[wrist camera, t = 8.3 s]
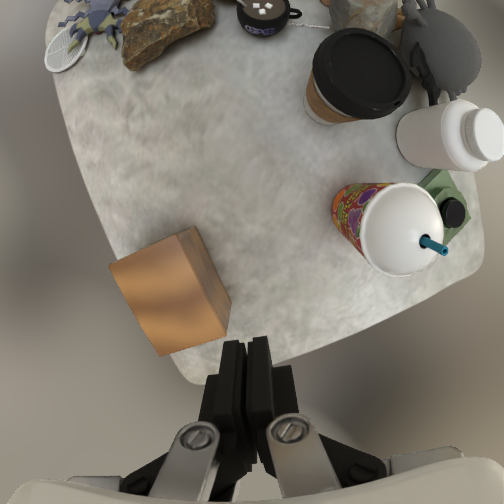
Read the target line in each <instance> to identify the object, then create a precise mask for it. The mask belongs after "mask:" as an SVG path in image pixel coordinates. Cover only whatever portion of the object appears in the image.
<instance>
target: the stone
mask: <svg viewBox="0 0 504 504" xmlns="http://www.w3.org/2000/svg"><path fill="white" fill-rule="evenodd" d="M329 10H330V12H329V13H330V16H331V19H332V22H333V26H334V29H335V31H336V32H337V31H339V30H341V29H345V28H353V27H354V28H363V29H366V30H370V31H372V32H374V33H376V34H378V35H380V36H381V37H383V38H384V39H386V40H387V39H388V37H389V35H390V34H391V33H392V31H393V30H394V28H395V25H396V22H397V0H330V5H329Z"/></svg>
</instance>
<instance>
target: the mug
mask: <svg viewBox="0 0 504 504" xmlns="http://www.w3.org/2000/svg"><path fill="white" fill-rule="evenodd" d="M237 1H238V4H237V16H238V20H239V22H240V24H241V26H242V27H243V28H244V29H245V30H246V31H248V32H250V33H251V34H254V35H257V36H270V35H273V34H276V33H277V32H279V31H281V30H282V29H283V28H284V27H285V26H286V24H287V22H288V20H289V19H298V18H300V17H301V16H302V12H301V11H300V10H298V9H293V8H290V3H289V1H288V0H237ZM290 12H294V13H298V14H297V15H290ZM294 24H295V26H300V25H301V26H304V24H300V23H299V24H297V23H293V25H294ZM289 25H292V22H289ZM308 25H309V27H312V28H313V27H315V25H313V26H312V25H311V26H310V24H306V27H308ZM320 27H321V28H324V27H325V29H326V26H319V28H320ZM316 28H318V25H316ZM327 28H328V29H329V28H330V27H328V26H327Z"/></svg>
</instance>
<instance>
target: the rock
mask: <svg viewBox="0 0 504 504" xmlns="http://www.w3.org/2000/svg"><path fill="white" fill-rule="evenodd" d="M214 9H215V6H214V5H213V3H212V0H139V1H137V2H136V3H135V4H134V5H133V6H132V9H131V10H130V11H129V13H128V14H127V16H126V17H125V18H124V19H123V20H122V21H121V23H120V27H121V30H122V33H123V47H122V58H123V63H124V65H125V66H126V67H127V68H128V69H129V70H130V71H138V70H139V69H140V68H141V67H142V65H143V64H145V63H146V62H148V61H151V60H153V59H154V58H156V57H158V56H160V54H161V53H162V52H163V51H164V49H165V48H166V47H167V46H168V45H169V44H171V43H173V42H175V41H176V40H177V39H180V38H182V37H184V36H186V35H188V34H191V33H193V32H195V31H201V30H204V29H206V28H210V27H211V26H212V23H213V22H214V20H215V17H214V15H213V11H214Z"/></svg>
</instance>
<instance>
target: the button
mask: <svg viewBox="0 0 504 504" xmlns="http://www.w3.org/2000/svg"><path fill="white" fill-rule="evenodd" d="M439 212H440V215H441V217H442V220H443V224H444V225H447V226H449V227H452V228H458V227H460V226H461V225H462V224H463V222H464V220H465V215H466V212H465V207H464V205H463V204H462V202H460V201H458V200H454V199H446V200H445V201H443V203H442V204H441V206H440V210H439Z"/></svg>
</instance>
